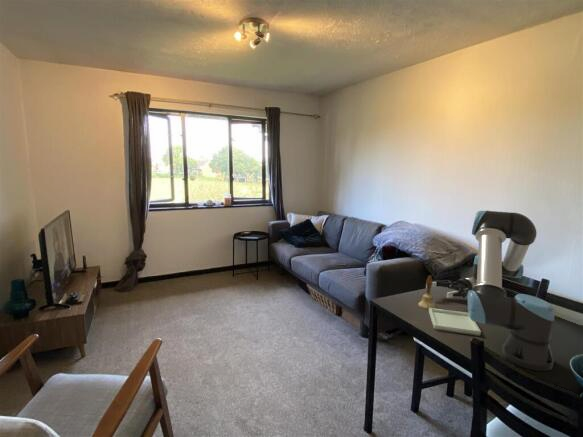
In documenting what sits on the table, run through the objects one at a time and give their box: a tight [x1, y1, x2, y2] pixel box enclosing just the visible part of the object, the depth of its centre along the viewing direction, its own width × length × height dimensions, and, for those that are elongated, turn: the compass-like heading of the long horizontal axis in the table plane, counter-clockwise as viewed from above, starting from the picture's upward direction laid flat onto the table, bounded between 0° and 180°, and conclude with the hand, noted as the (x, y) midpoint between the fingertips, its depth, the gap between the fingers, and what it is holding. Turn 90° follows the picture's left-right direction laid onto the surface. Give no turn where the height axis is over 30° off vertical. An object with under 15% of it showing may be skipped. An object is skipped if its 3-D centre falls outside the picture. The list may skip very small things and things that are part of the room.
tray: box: [428, 308, 482, 337], centre depth 145 cm, size 18×18×2 cm
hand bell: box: [418, 275, 437, 310], centre depth 161 cm, size 8×8×16 cm
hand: (436, 290), depth 164 cm, fingers open, 13 cm apart
